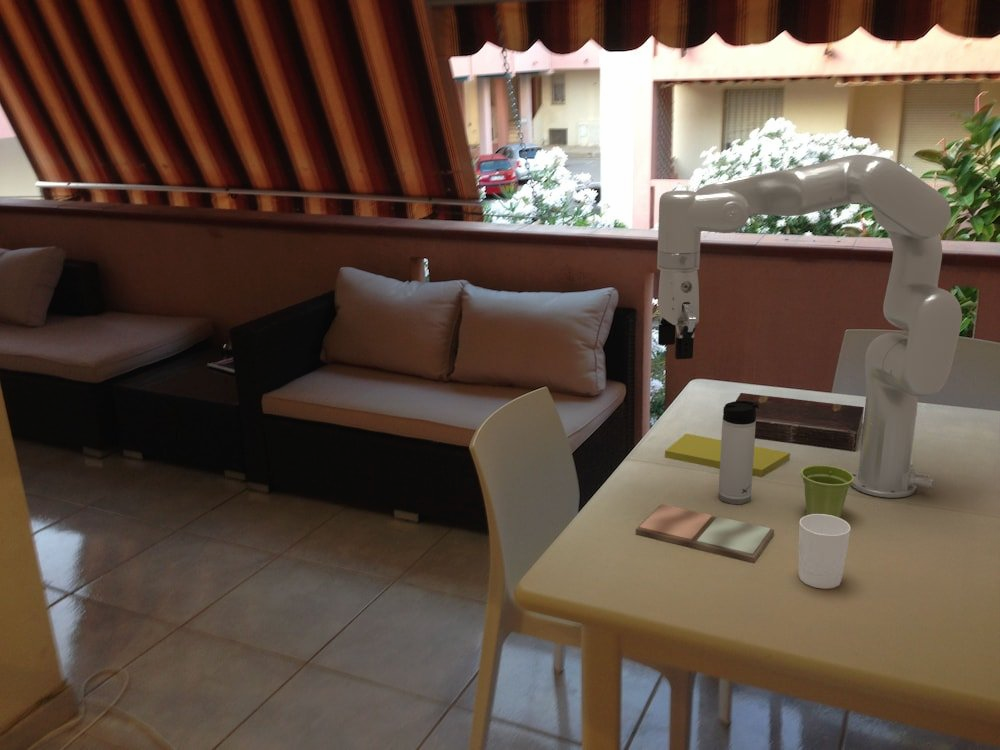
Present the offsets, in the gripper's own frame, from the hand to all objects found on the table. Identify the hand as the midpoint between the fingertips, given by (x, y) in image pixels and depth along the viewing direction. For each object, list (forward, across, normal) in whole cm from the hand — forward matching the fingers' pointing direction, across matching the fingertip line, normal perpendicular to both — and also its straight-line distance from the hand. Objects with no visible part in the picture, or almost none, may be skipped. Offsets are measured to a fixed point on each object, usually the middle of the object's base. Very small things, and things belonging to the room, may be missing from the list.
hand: (674, 351), depth 174 cm
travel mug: (+31, 0, -14) cm, 34 cm away
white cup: (+31, -32, -15) cm, 48 cm away
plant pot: (+31, -11, -27) cm, 43 cm away
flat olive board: (+32, +20, -20) cm, 43 cm away
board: (+31, -14, -2) cm, 34 cm away
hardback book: (+32, +34, -42) cm, 63 cm away
